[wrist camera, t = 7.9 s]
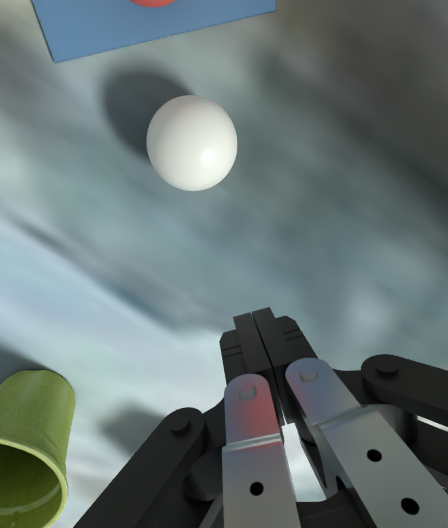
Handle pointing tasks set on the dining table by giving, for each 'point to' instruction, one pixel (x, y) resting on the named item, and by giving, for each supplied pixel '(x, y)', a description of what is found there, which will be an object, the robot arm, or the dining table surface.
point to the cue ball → (191, 143)
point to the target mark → (131, 22)
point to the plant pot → (34, 448)
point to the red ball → (152, 2)
